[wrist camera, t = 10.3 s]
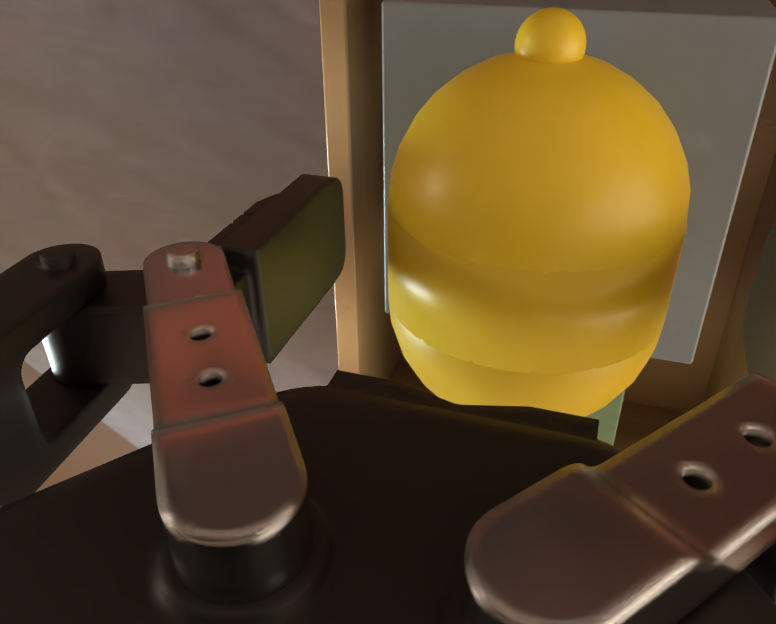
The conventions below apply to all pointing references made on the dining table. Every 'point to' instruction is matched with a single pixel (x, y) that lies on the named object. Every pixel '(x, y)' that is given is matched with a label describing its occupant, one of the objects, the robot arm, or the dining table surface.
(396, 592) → the robot arm
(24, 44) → the dining table surface
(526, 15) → the block grey
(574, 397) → the lemon
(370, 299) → the crate
